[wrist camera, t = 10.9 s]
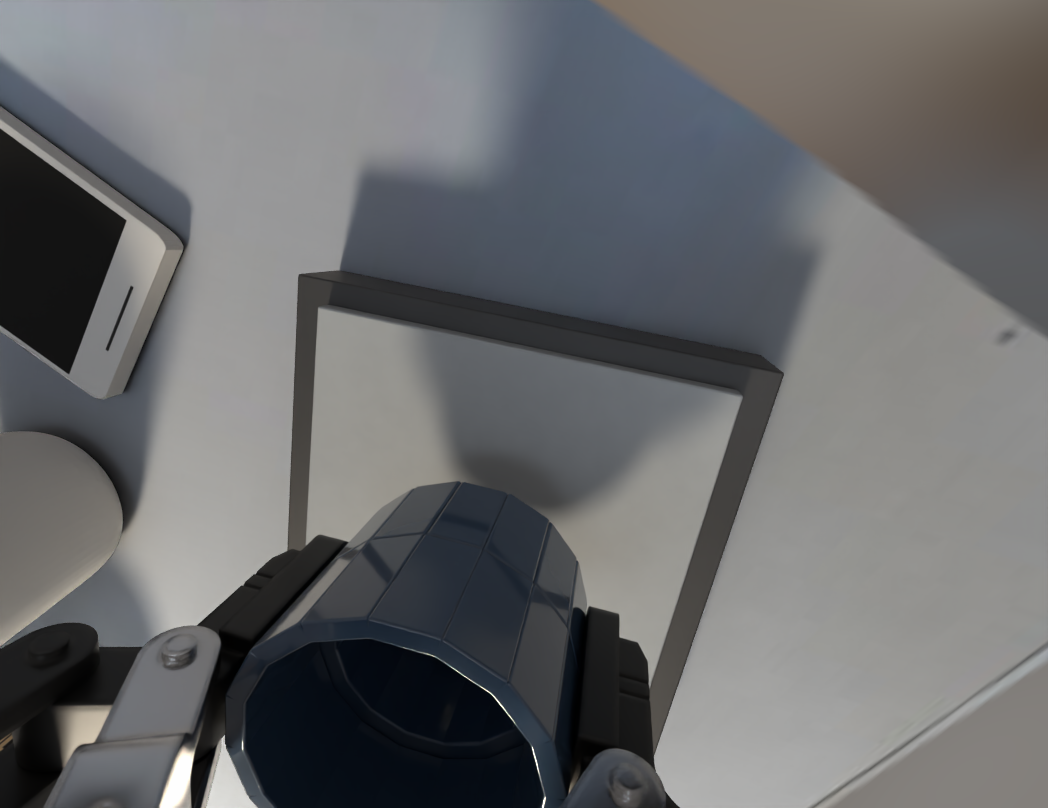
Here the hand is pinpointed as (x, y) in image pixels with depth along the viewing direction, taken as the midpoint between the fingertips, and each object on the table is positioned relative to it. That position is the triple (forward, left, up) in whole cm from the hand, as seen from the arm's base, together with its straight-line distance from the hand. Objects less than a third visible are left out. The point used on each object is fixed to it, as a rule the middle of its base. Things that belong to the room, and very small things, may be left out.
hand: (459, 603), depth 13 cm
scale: (0, -2, -6) cm, 7 cm away
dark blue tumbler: (0, 0, -1) cm, 1 cm away
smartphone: (-21, +6, -6) cm, 23 cm away
